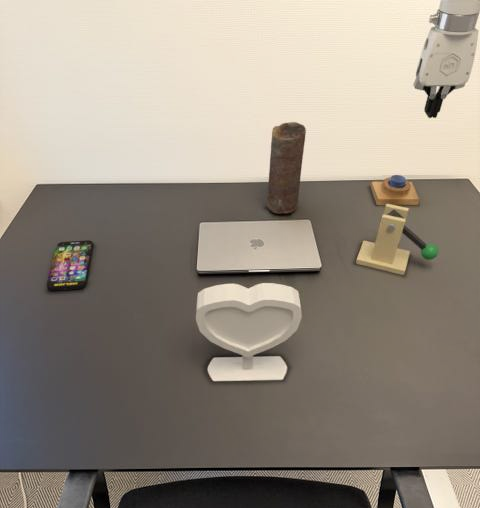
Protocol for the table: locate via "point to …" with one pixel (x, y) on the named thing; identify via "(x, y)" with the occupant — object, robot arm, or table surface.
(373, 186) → the button block
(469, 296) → the table surface
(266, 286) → the heart sculpture
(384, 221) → the switch bracket
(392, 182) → the button
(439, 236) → the table surface
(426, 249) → the lever
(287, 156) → the rusty metal cylinder
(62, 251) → the smartphone
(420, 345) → the table surface
